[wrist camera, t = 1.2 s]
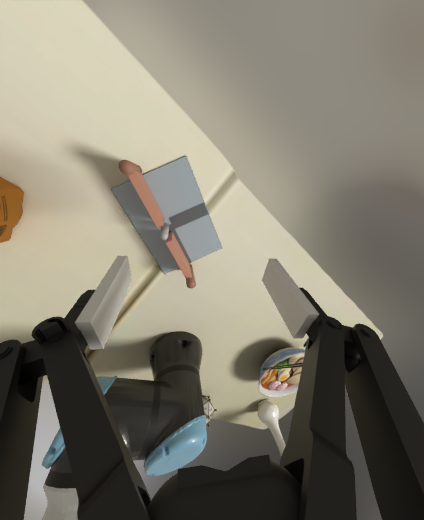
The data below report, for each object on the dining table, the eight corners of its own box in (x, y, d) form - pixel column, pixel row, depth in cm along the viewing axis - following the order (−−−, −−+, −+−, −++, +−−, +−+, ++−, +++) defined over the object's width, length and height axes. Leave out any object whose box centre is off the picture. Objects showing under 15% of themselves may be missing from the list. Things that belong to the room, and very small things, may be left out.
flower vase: (240, 413, 76) (268, 509, 54) (269, 389, 72) (311, 481, 50) (259, 417, 81) (291, 506, 59) (286, 394, 77) (331, 480, 55)
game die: (201, 383, 67) (214, 397, 59) (210, 400, 68) (224, 416, 59) (182, 403, 62) (193, 421, 54) (193, 421, 63) (205, 441, 55)
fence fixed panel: (186, 271, 41) (189, 290, 34) (161, 224, 35) (157, 235, 28) (193, 268, 41) (197, 286, 34) (168, 221, 35) (167, 231, 28)
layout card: (164, 273, 40) (164, 274, 40) (111, 188, 31) (111, 189, 31) (222, 247, 40) (222, 248, 40) (186, 156, 31) (186, 155, 31)
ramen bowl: (240, 379, 65) (249, 404, 58) (256, 336, 56) (268, 359, 49) (295, 373, 71) (309, 395, 64) (317, 332, 62) (336, 352, 55)
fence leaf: (158, 221, 34) (155, 230, 28) (128, 167, 30) (116, 162, 23) (166, 217, 34) (164, 226, 28) (138, 163, 30) (128, 157, 23)
